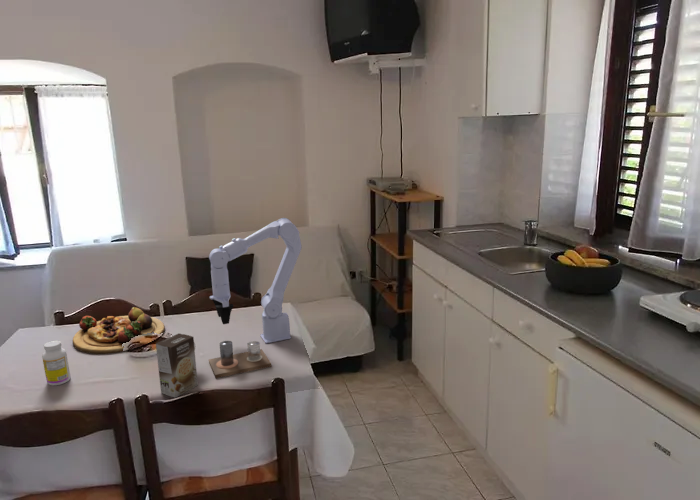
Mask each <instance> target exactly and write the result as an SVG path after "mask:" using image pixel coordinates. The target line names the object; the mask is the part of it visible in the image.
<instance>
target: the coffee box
mask: <svg viewBox="0 0 700 500" xmlns="http://www.w3.org/2000/svg"><path fill="white" fill-rule="evenodd" d="M194 339H195V338H194V336H192V335H188V334H186V333H185V334H184V333H177V334H174V335H172V336H169V337H167V338H165V339H163V340H161V341H158V342H156V343H155V349H156V356H157V357H156V358H157V367H158V377H159V385H160V386H159V387H160V393H161V394H164V395H165V396H168V397H171V398H177V397H179V396H182V395H183V394H184V393H186V392H188V391H190V390H191V389H193V388H195V387H197V386H198V385H199V384H198V383H199V382H198V374H197V373H198V372H197V362H196V352H195V351H196V348H195V349H194V342H195V340H194Z"/></svg>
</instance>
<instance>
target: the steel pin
mask: <svg viewBox="0 0 700 500" xmlns="http://www.w3.org/2000/svg"><path fill="white" fill-rule="evenodd" d="M219 353H220V357H221V365H223V366H230V365H232V364H233V363H234V359H233V355H234V348H233V342H232V341H231V340H223V341H221V342H220V343H219Z"/></svg>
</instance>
